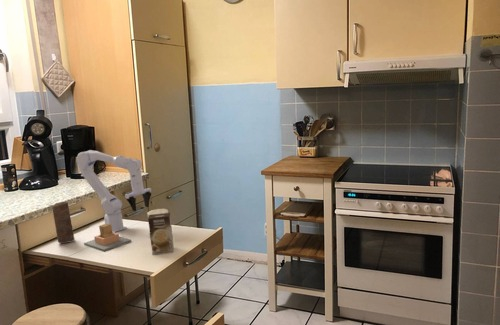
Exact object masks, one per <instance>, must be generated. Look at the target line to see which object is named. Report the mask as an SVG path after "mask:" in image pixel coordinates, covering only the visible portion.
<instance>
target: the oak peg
mask: <svg viewBox="0 0 500 325" xmlns="http://www.w3.org/2000/svg"><path fill="white" fill-rule="evenodd" d="M98 227H99V235H101V237H102V238H106V237H109V236H112V235H113V233H114V232H113V233H112V226H111V224H107V223H106V224H105V223H104V224H100V225H98Z"/></svg>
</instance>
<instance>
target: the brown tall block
mask: <svg viewBox="0 0 500 325" xmlns="http://www.w3.org/2000/svg"><path fill="white" fill-rule="evenodd" d="M51 208H52V213H53V214H52V215H53V220H54V225H55V231H56V233H55V234H56V237H57V243H59V244H66V243H69V242H74V241H75V236H74V231H73V230H74V229H73V225H72V220H71V213H70V208H69V202H68V201H62V202H56V203H54V205H51Z"/></svg>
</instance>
